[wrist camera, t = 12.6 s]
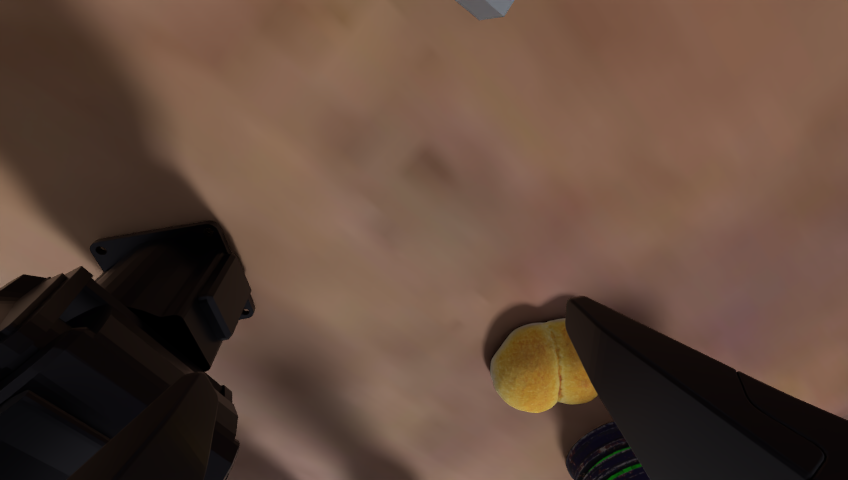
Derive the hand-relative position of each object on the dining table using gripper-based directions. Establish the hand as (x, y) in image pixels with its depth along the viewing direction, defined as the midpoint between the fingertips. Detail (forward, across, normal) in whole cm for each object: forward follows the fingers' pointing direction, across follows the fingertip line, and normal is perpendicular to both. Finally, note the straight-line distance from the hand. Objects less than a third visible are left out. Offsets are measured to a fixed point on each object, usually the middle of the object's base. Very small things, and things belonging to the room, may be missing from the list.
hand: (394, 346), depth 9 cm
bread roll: (+14, -10, +17) cm, 24 cm away
